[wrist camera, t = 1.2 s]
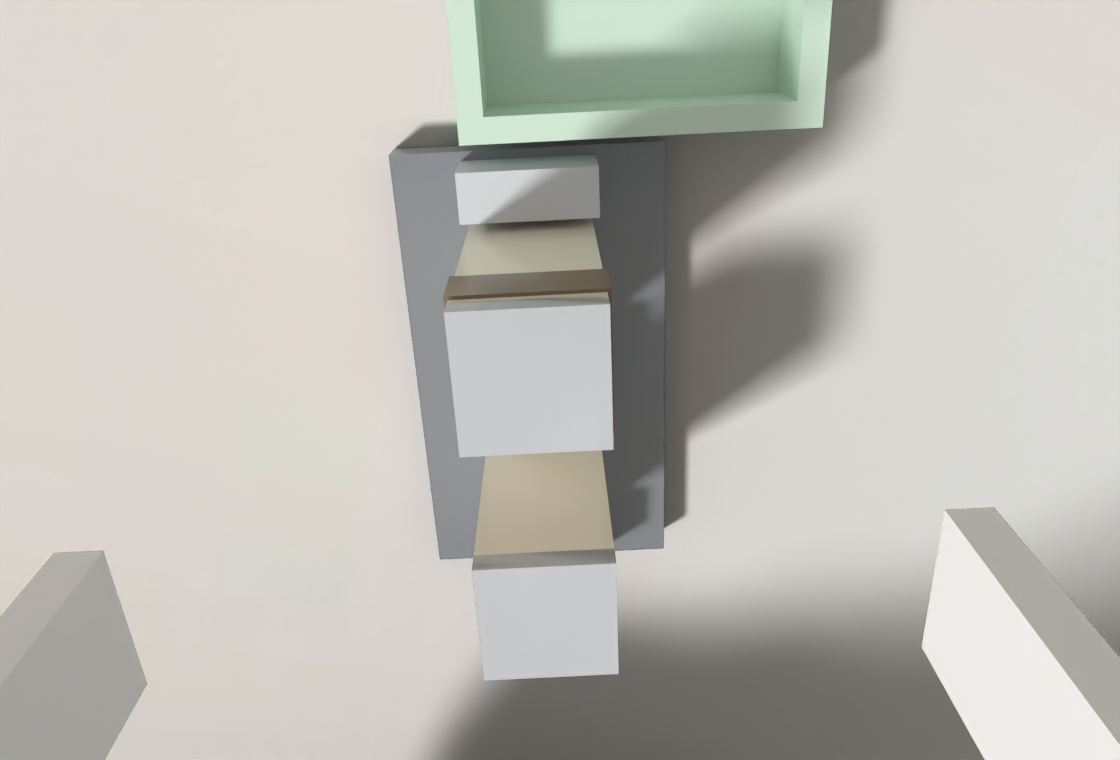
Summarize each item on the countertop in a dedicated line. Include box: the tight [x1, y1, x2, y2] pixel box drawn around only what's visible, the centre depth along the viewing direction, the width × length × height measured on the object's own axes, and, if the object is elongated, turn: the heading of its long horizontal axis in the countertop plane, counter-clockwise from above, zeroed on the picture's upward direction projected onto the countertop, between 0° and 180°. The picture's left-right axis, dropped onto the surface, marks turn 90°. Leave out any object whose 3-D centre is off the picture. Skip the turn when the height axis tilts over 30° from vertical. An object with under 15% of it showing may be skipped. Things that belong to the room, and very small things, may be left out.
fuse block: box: [389, 136, 666, 559], centre depth 31 cm, size 16×9×3 cm, turn 3°
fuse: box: [472, 450, 619, 681], centre depth 29 cm, size 4×4×9 cm
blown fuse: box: [443, 218, 615, 457], centre depth 26 cm, size 4×4×9 cm
